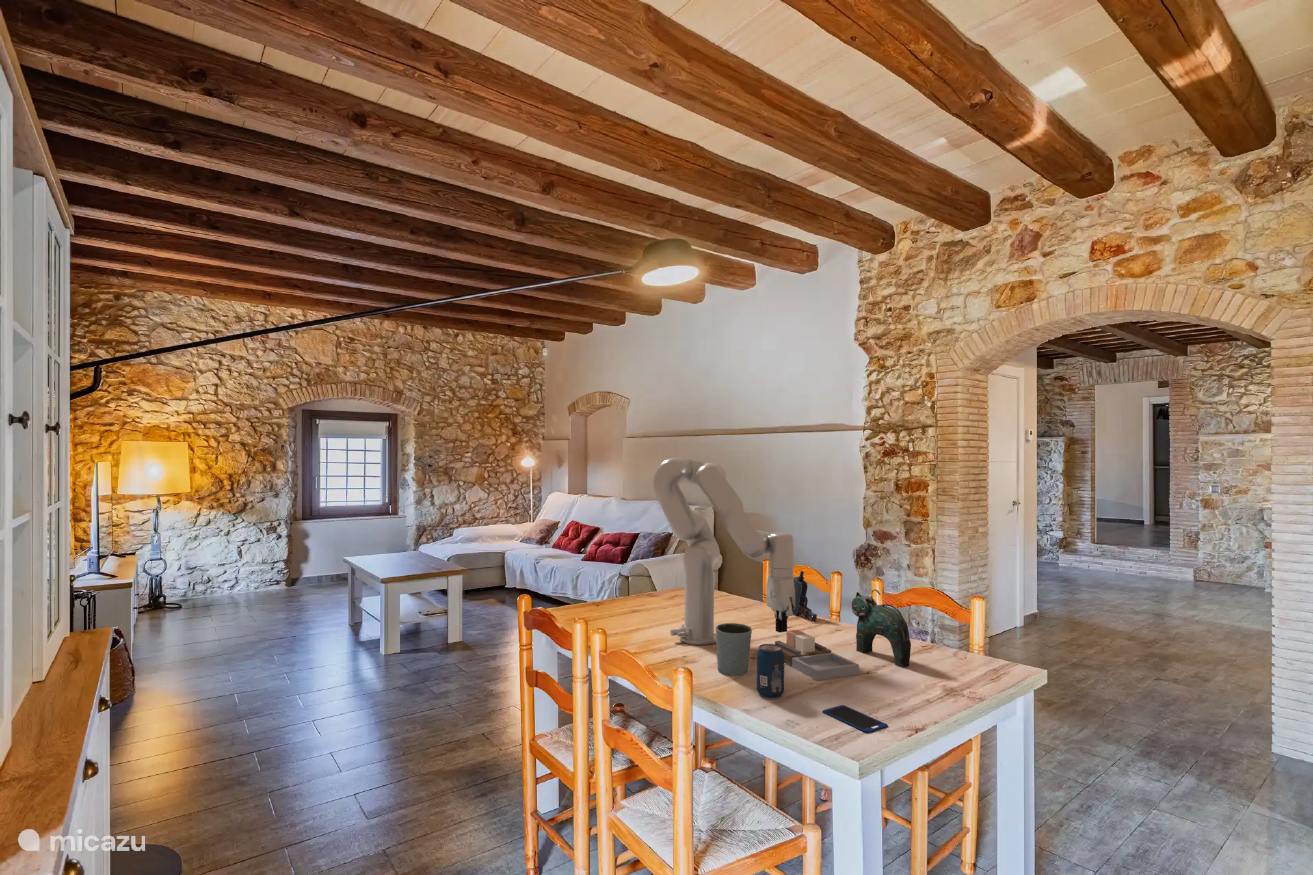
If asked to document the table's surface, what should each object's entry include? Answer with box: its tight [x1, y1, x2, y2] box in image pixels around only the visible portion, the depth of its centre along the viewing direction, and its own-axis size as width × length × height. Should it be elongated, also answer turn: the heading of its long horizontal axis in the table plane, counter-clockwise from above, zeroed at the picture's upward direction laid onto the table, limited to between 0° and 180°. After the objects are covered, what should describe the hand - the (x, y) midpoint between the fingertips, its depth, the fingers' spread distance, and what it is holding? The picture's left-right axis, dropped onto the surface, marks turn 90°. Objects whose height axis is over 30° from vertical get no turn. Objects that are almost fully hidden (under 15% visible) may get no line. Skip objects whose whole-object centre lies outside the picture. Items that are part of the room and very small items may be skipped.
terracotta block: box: [786, 629, 807, 648], centre depth 199 cm, size 4×4×4 cm
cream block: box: [795, 633, 816, 653], centre depth 194 cm, size 4×4×4 cm
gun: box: [792, 570, 818, 623], centre depth 243 cm, size 3×17×15 cm
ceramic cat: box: [851, 589, 912, 668], centre depth 198 cm, size 20×6×20 cm, turn 27°
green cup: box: [715, 622, 753, 677], centre depth 185 cm, size 10×10×12 cm
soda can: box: [755, 643, 785, 700], centre depth 168 cm, size 7×7×12 cm
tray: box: [791, 651, 860, 681], centre depth 186 cm, size 14×12×3 cm
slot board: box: [774, 640, 832, 668], centre depth 197 cm, size 14×11×4 cm
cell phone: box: [821, 704, 889, 734], centre depth 153 cm, size 7×14×1 cm, turn 31°
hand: (781, 631), depth 206 cm, fingers closed
